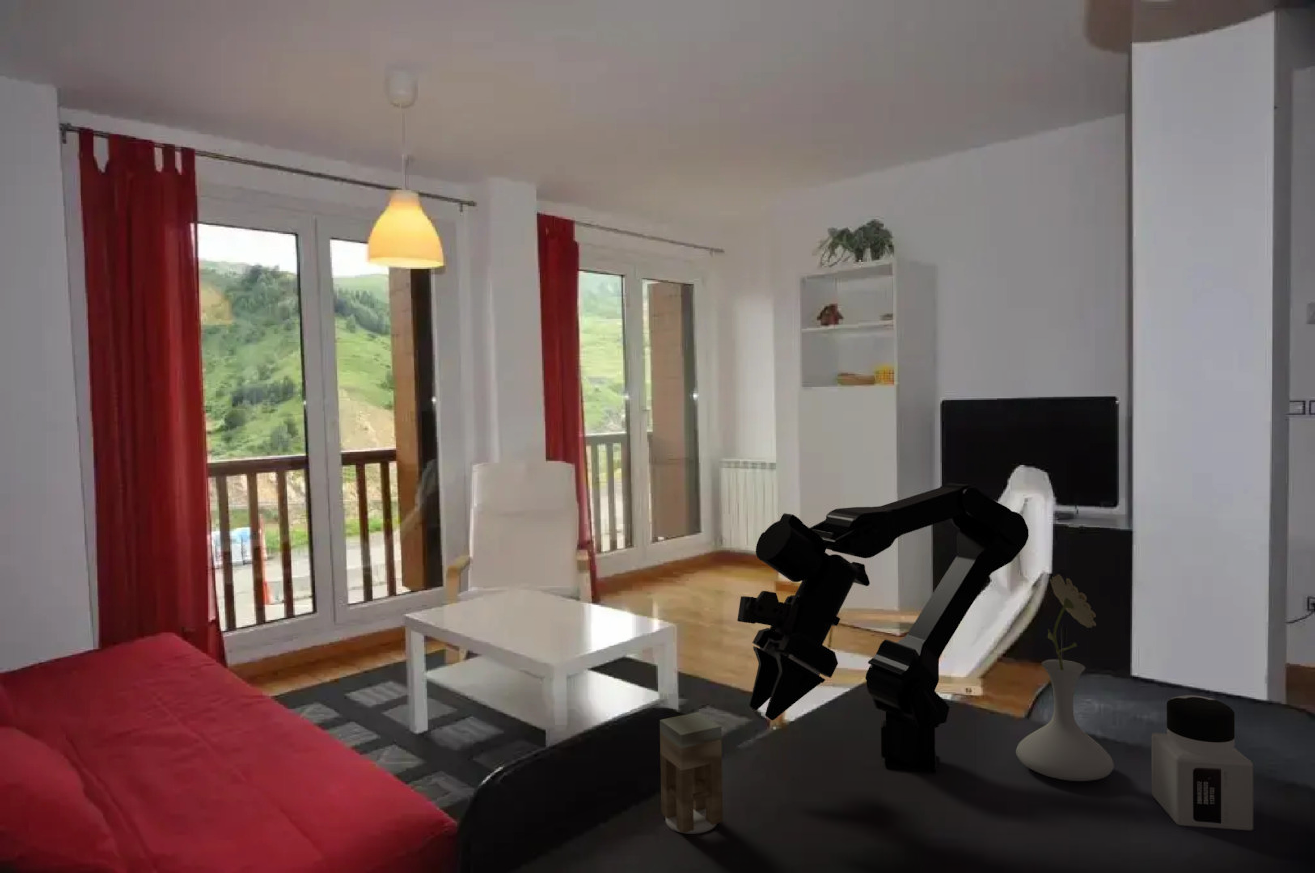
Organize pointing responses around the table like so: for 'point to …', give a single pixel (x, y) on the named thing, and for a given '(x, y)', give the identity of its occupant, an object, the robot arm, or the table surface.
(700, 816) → the mat
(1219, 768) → the container
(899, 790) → the table surface
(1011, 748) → the table surface
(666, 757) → the stool
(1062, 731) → the flower in vase
